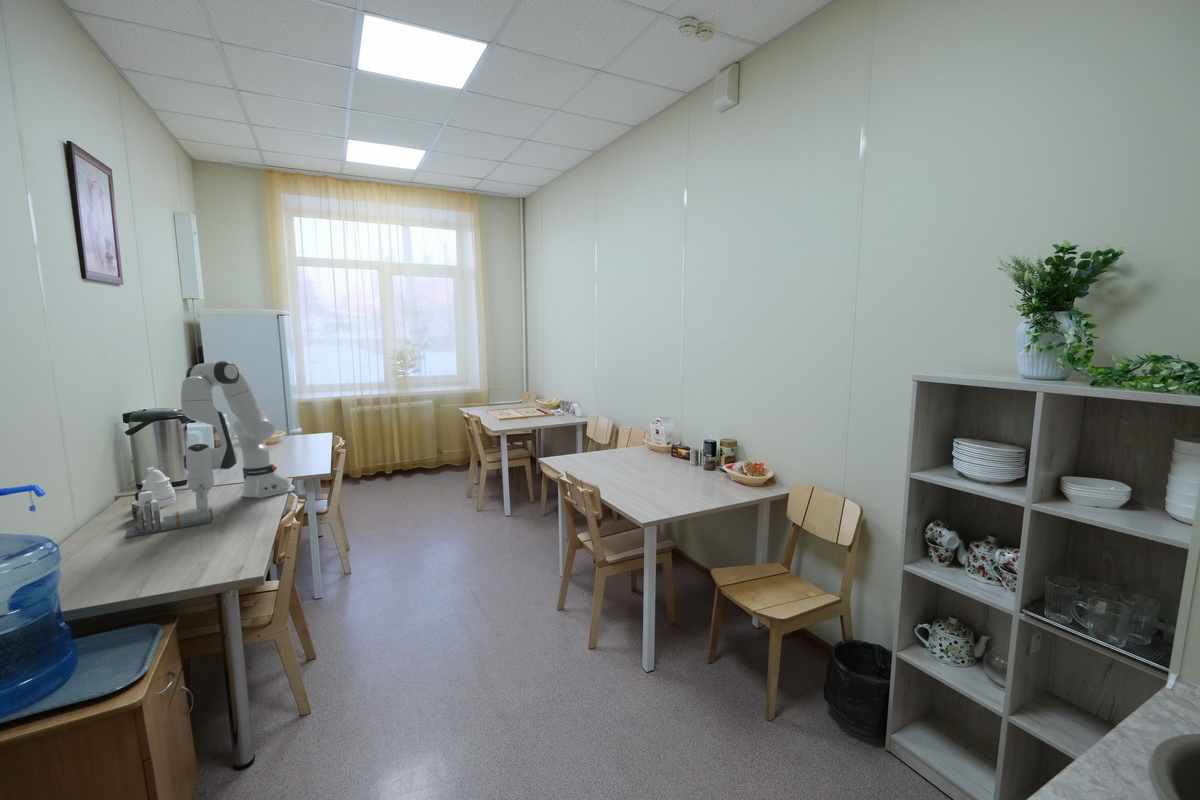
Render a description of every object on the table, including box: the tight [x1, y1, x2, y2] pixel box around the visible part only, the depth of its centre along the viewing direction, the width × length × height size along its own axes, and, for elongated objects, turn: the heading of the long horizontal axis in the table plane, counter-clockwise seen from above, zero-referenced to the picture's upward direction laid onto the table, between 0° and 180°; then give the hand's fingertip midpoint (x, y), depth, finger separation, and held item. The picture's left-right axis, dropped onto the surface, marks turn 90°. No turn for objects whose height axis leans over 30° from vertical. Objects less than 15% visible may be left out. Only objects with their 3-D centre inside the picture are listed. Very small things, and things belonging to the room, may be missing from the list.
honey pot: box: [140, 466, 177, 508], centre depth 239 cm, size 13×13×18 cm
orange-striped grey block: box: [162, 505, 214, 527], centre depth 217 cm, size 16×4×4 cm, turn 128°
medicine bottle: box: [131, 490, 161, 522], centre depth 222 cm, size 7×7×12 cm
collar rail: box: [125, 500, 213, 539], centre depth 213 cm, size 27×12×11 cm, turn 128°
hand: (203, 513), depth 221 cm, fingers open, 8 cm apart
